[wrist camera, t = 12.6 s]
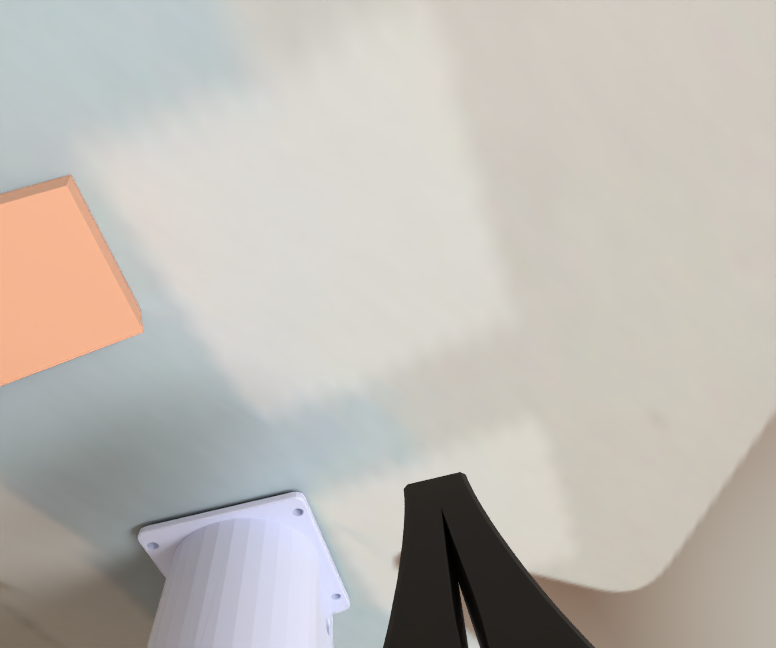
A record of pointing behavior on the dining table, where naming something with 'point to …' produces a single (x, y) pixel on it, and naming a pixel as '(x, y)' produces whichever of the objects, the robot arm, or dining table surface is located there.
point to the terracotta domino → (56, 281)
